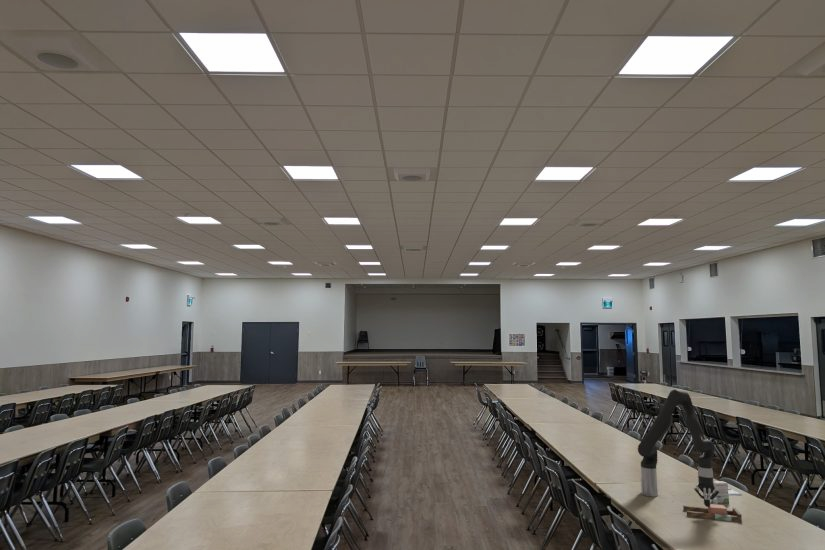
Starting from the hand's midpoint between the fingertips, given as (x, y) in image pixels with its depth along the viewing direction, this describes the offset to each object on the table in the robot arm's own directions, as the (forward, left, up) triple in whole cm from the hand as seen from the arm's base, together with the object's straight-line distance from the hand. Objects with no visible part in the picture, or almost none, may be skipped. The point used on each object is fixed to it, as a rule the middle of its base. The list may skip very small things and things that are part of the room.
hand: (707, 506), depth 285 cm
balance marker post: (+7, +10, -5) cm, 13 cm away
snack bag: (+19, +55, -6) cm, 58 cm away
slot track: (+2, 0, -5) cm, 5 cm away
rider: (+5, 0, -5) cm, 7 cm away
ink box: (+14, +30, -5) cm, 33 cm away
